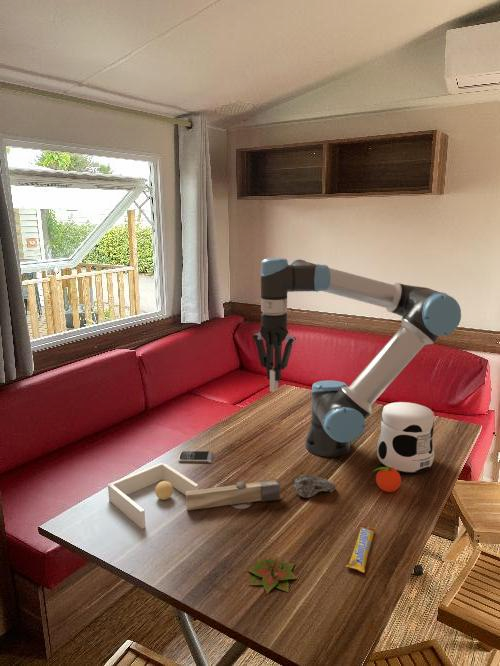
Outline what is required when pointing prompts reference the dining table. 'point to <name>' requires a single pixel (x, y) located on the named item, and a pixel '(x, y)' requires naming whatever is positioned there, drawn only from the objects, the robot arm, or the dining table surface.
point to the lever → (233, 494)
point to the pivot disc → (242, 505)
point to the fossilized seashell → (312, 485)
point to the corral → (140, 481)
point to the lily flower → (272, 573)
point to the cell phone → (196, 457)
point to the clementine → (388, 479)
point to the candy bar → (361, 549)
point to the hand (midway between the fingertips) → (273, 390)
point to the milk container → (406, 437)
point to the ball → (164, 490)
